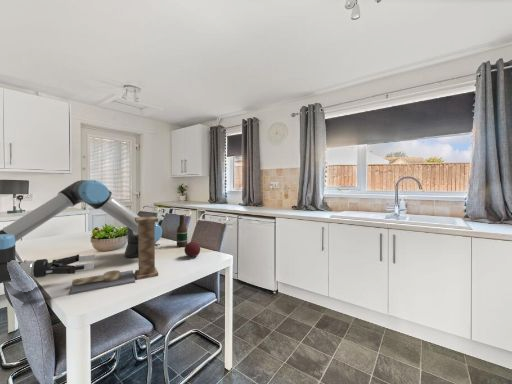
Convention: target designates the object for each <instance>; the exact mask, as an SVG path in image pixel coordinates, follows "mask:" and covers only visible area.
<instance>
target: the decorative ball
mask: <svg viewBox="0 0 512 384" xmlns="http://www.w3.org/2000/svg"><path fill="white" fill-rule="evenodd" d="M200 252H201V246H200V244H199V243H198V242H197V241H190V242H187V245H186V246H185V247H184V254H185V255H186V256H187V257H188V258H195V257H197V256H198V255H200Z"/></svg>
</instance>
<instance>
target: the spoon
mask: <svg viewBox="0 0 512 384" xmlns="http://www.w3.org/2000/svg"><path fill="white" fill-rule="evenodd" d="M120 272H121V271H120V270H117V269H115V270H109V271H106V272H104V273H103V274H99V275H94V276H93V275H92V276H87V277H80V278H75V279H72V281H71V286H72V287H73V285H79V284H85V283H91V282H96V281H102V280H104V282H112V281H116V280H118V279H120Z"/></svg>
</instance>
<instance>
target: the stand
mask: <svg viewBox="0 0 512 384" xmlns="http://www.w3.org/2000/svg"><path fill="white" fill-rule="evenodd" d="M135 222H136V223H138V253H139V257H138V269H135V271H134V272H135V274H134V275H135V277H136V278H135V279H136V280H144V279H149V278H154V277H158V276H159V272H158V269H157V267H156V266H155V265H156V264H155V263H156V262H155V258H156V257H155V256H156V249H155V247H156V246H155V224H156V223H158V222H159V218H158V217H156V216H139V217H135Z"/></svg>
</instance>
